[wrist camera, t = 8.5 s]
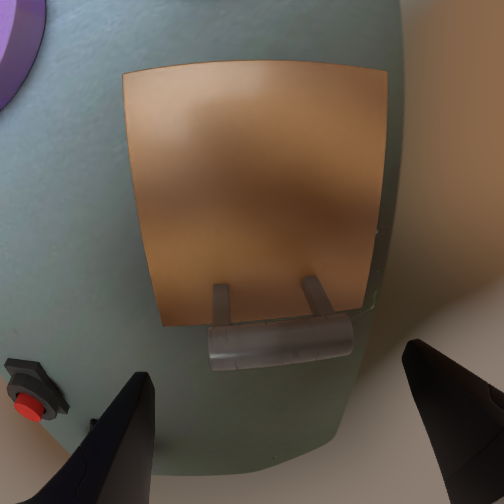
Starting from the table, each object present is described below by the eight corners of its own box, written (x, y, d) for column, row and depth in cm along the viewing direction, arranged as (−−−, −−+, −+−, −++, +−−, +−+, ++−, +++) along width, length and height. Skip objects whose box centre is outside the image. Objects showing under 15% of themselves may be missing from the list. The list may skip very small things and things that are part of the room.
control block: (74, 407, 27) (68, 427, 25) (35, 401, 27) (28, 419, 24) (43, 362, 24) (33, 384, 21) (3, 357, 23) (-7, 376, 21)
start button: (50, 412, 24) (46, 424, 22) (28, 407, 24) (24, 419, 22) (35, 393, 22) (30, 406, 21) (13, 389, 22) (8, 401, 21)
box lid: (357, 300, 16) (397, 369, 11) (164, 318, 15) (151, 400, 10) (379, 72, 10) (461, 69, 6) (127, 75, 9) (67, 62, 5)
